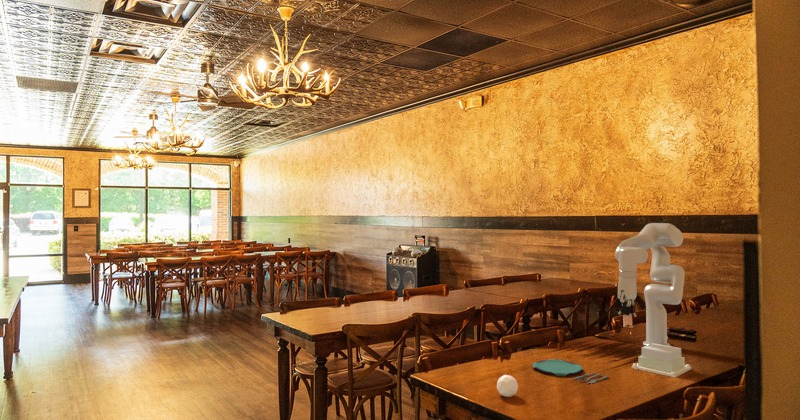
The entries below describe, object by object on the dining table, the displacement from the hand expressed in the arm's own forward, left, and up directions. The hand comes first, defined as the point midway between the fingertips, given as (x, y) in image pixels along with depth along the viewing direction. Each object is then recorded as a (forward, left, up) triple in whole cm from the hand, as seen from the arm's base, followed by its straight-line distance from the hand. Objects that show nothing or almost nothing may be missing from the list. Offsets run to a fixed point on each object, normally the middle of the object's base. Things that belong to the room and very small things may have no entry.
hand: (627, 313), depth 243 cm
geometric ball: (+83, -8, -21) cm, 86 cm away
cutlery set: (+40, -8, -22) cm, 46 cm away
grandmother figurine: (0, 0, -6) cm, 6 cm away
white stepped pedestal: (+4, +16, -21) cm, 27 cm away
